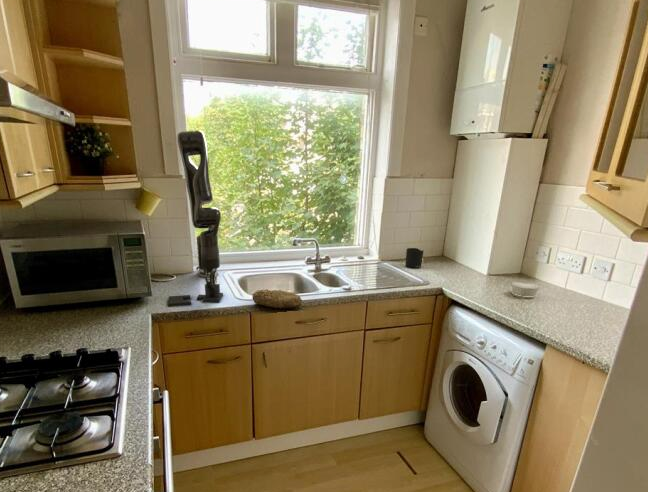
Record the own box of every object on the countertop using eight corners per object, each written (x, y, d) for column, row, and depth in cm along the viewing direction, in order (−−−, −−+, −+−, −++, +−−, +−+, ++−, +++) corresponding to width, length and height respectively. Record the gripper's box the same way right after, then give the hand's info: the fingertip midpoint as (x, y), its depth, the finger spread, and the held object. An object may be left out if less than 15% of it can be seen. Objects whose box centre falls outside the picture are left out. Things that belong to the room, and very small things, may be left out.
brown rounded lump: (250, 308, 176) (285, 310, 163) (249, 289, 175) (284, 289, 162) (272, 306, 186) (306, 307, 173) (271, 288, 185) (306, 288, 172)
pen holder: (404, 268, 238) (406, 250, 234) (405, 264, 246) (406, 247, 243) (421, 269, 236) (423, 252, 232) (421, 265, 244) (423, 248, 240)
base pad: (169, 298, 182) (168, 296, 181) (190, 297, 184) (190, 294, 184) (168, 306, 173) (168, 303, 172) (191, 304, 175) (190, 302, 175)
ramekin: (530, 292, 199) (533, 281, 197) (540, 300, 189) (543, 289, 187) (506, 291, 200) (508, 280, 198) (514, 298, 190) (517, 287, 188)
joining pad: (200, 294, 187) (199, 280, 185) (223, 295, 188) (222, 281, 185) (195, 302, 178) (194, 287, 176) (219, 302, 178) (218, 288, 176)
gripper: (204, 252, 182) (207, 290, 189) (197, 260, 169) (200, 300, 176) (222, 252, 182) (224, 290, 189) (216, 260, 170) (218, 300, 176)
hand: (212, 295), depth 182 cm, fingers closed on joining pad
